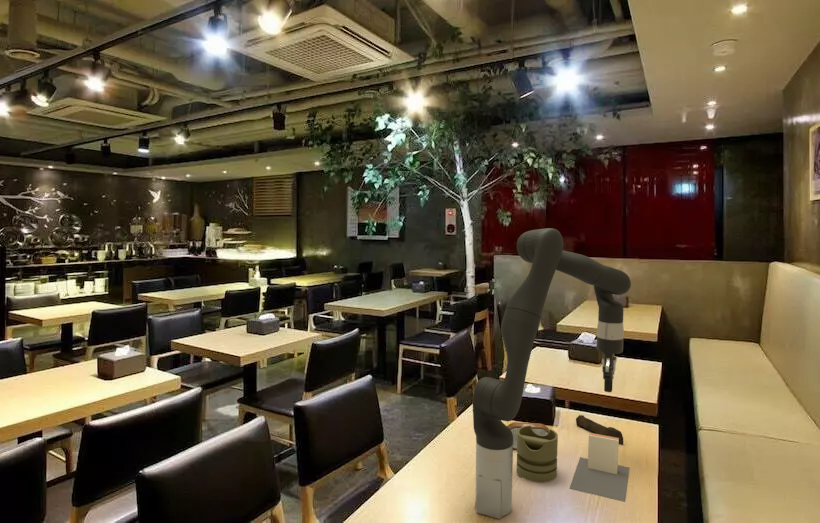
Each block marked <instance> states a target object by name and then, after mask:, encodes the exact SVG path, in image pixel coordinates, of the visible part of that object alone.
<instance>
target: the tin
mask: <svg viewBox="0 0 820 523" xmlns="http://www.w3.org/2000/svg"><path fill="white" fill-rule="evenodd" d="M528 425H531V428H532V430H533V431H534V432H535V433H536V434H538V435H547V434H549V432H550V428H549V427H548V426H547V425H545V424H544V423H535V422H517V421H515V422H510V423H509V424H508V425H506V426H507V427H508V428H509V429H510V430H511V431H512V433H513V450H516V451H517V431H518V429H519V428H521V427H523V426H528Z"/></svg>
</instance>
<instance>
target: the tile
mask: <svg viewBox="0 0 820 523" xmlns="http://www.w3.org/2000/svg"><path fill="white" fill-rule="evenodd" d="M619 445H620V444H619V438H616V437H610V436H605V435H599V434H596V433H594V432H589V433H588V449H587V450H588V453H587V459H588V468H590V469H594V470H599V471H604V472H608V473H613V474H617V472H618V465H619V448H620V446H619Z"/></svg>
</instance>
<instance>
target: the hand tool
mask: <svg viewBox="0 0 820 523" xmlns="http://www.w3.org/2000/svg"><path fill="white" fill-rule="evenodd" d="M575 424H576V426H578V427H579V428H584V429H587V430H589V431H590V432H591V433H594V434H599V435H605V436H610V437H616V438H619V445H621V446H624V437H623V433H622V431H621V430H619V429H617V428H615V427H613V426H608V427H607V426H606V425H605V426H604V425H603V424H600V423H598V422H595V421H594V420H591V419H590V418H587V417H585V415H583V414H579V415H578V416H577V417H576V418H575Z"/></svg>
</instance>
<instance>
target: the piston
mask: <svg viewBox="0 0 820 523" xmlns="http://www.w3.org/2000/svg"><path fill="white" fill-rule="evenodd" d="M549 430H550V432H549V434H547V435H538V434H536V433H535V432H534V431H533V430H532V428H531V425H528V426H523V427H521V428H519V429H518V431H517V450H516V452H517V453H516V474H517V476H518V477H519V478H520V479H522V478H523V479H525V480H527V481H530V482H534V483H549V482H552V481H554V480H555V479H556V478H557V476H558V474H557V472H558V458H557V457H558V446H559V444H558V441H559V440H558V438H559V435H558V433H557V432H556V431H555V430H554V429H552V428H549Z"/></svg>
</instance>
